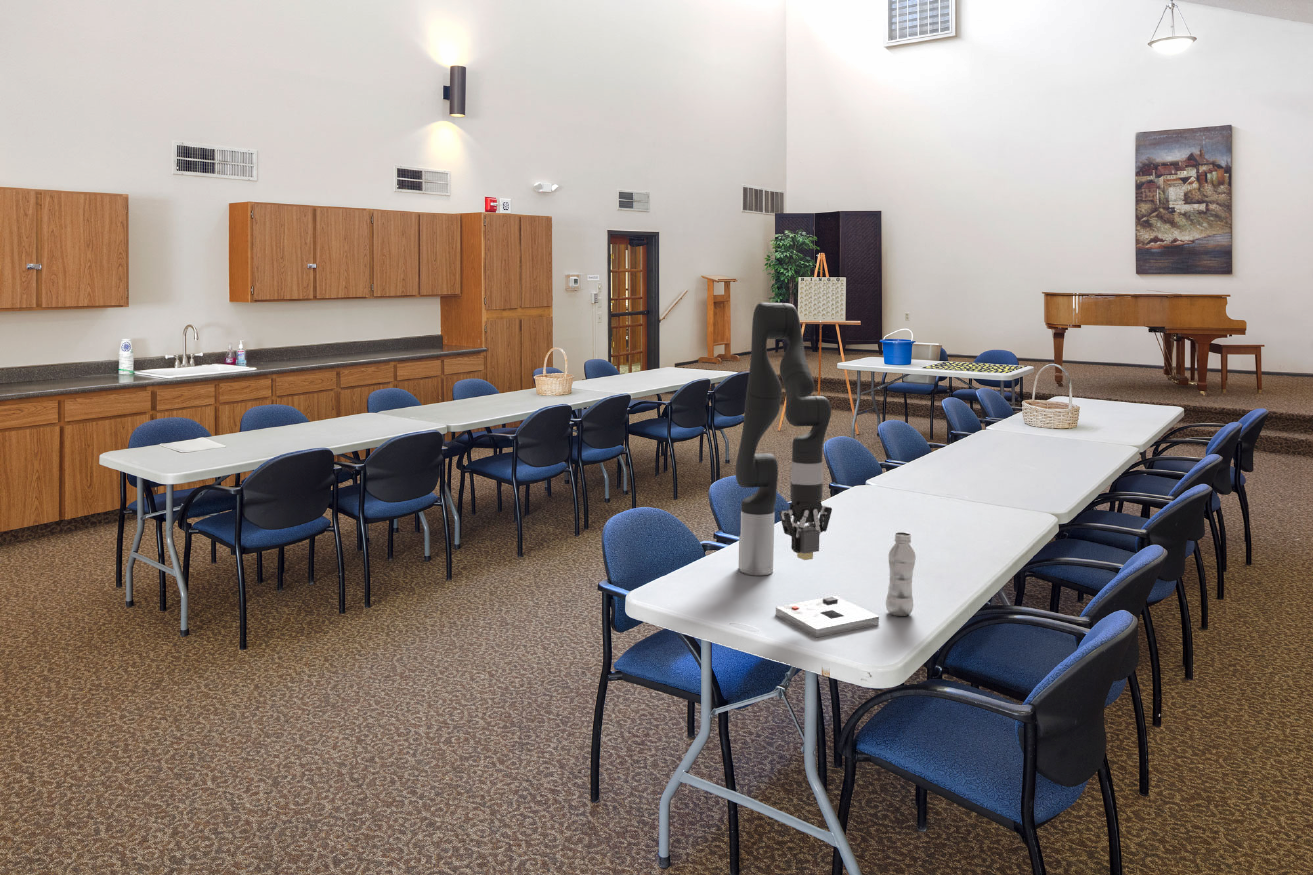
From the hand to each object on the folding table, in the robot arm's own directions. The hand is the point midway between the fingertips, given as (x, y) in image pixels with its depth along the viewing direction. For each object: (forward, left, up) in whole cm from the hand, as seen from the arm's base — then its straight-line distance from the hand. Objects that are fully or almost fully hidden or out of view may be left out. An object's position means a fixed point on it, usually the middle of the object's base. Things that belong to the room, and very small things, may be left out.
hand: (805, 550), depth 212 cm
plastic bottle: (+10, +21, -16) cm, 28 cm away
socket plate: (+5, +3, -16) cm, 17 cm away
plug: (0, 0, -2) cm, 2 cm away
